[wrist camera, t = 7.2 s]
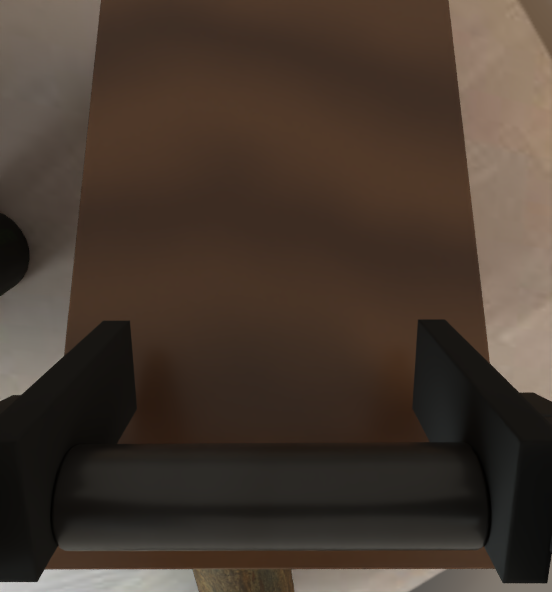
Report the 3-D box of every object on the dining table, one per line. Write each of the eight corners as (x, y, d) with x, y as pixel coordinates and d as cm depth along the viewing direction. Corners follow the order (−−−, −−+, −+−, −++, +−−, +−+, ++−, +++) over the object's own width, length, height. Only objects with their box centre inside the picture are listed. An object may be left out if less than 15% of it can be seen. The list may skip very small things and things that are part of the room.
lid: (502, 562, 16) (677, 658, 9) (52, 563, 16) (-130, 658, 9) (441, 3, 21) (518, -212, 14) (107, 9, 22) (21, -200, 15)
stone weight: (168, 435, 38) (144, 493, 31) (263, 415, 37) (259, 470, 31) (222, 603, 41) (210, 686, 35) (309, 587, 41) (314, 668, 34)
